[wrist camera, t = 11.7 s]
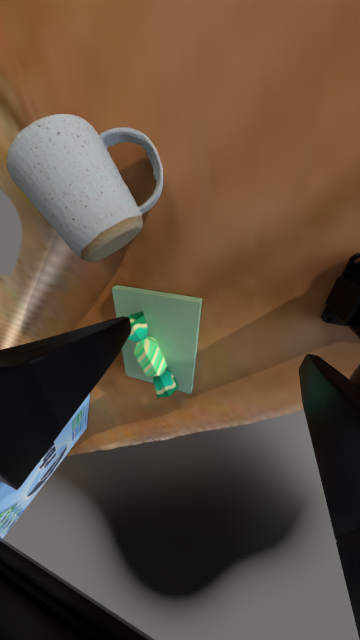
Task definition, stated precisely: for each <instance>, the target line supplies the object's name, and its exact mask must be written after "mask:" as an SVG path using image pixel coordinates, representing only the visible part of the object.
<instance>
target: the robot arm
mask: <svg viewBox="0 0 360 640" xmlns="http://www.w3.org/2000/svg"><path fill="white" fill-rule="evenodd" d="M359 257H360V253H357V254H355V255H353V256H352V257H351V258H350V260H349V262H348V264H347V266H346V268H345V270H344V272H343V274H342V276H341V277H339V278H338V279H337V280H336V282H335V284H334V286H333V288H332V290H331V292H330V294H329V296H328V299H327V301H326V305H327V306H326V308H325V310H324V312H323V314H322V316H321V318H322V320H323V321H324V322H326V323H331V324H338V325H344V326H348V327H349V328H350V329H351V330H352V331H353V332H354V333H355V334H356V335H357V336H358V338H359V339H360V261H359V262H357V263H356V262H355V261H356V259H357V258H359ZM327 316H330V318H328V319H326V317H327ZM130 334H131V322H130V318H129V317H124V316H121V317H118V318H114V319H111V320H108V321H104V322H101V323H97V324H94V325H90V326H87V327H84V328H80V329H77V330H73V331H70V332H67V333H63V334H60V335H56V336H53V337H49V338H46V339H42V340H39V341H35V342H31V343H27V344H23V345H19V346H15V347H11V348H6V349H2V350H0V481H1V482H3V483H5V484H7V485H8V486H10V487H12V488H14V489H16V490H18V489H19V488H20V487H21V486H22V484H23V483H24V482H25V480H26V479H27V478H28V476H29V475H30V474H31V472H32V471H33V470H34V468H35V467H36V466H37V464H38V463H39V462H40V460H41V459H42V457H43V456H44V455H45V453H46V452H47V451H48V449H49V448H50V447H51V445H52V444H53V443H54V441H55V440H56V438H57V437H58V436H59V434H60V433H61V432H62V430H63V428H64V427H65V426H66V425H67V423H68V422H69V421H70V419H71V418H72V417H73V415H74V414H75V413H76V411H77V410H78V409H79V407H80V406H81V404H82V403H83V402H84V400H85V399H86V398H87V396H88V395H89V394H90V392H91V391H92V390H93V388H94V387H95V385H96V384H97V383H98V381H99V380H100V379H101V377H102V376H103V375H104V373H105V372H106V371H107V369H108V368H109V367H110V365H111V364H112V362H113V361H114V360H115V358H116V357H117V356H118V354H119V353H120V351H121V349H122V348H123V346H124V344H125V342H126V341H127V339H128V337H129V336H130ZM299 376H300V385H301V395H302V402H303V407H304V411H305V415H306V419H307V423H308V428H309V432H310V435H311V440H312V444H313V448H314V452H315V457H316V460H317V465H318V469H319V473H320V477H321V481H322V485H323V489H324V494H325V497H326V502H327V506H328V510H329V514H330V518H331V522H332V527H333V531H334V535H335V539H336V541H337V542H336V544H337V548H338V552H339V556H340V560H341V564H342V569H343V573H344V577H345V581H346V585H347V589H348V593H349V597H350V601H351V606H352V610H353V614H354V618H355V622H356V626H357V630H358V634H359V638H360V365H359V366H358V367H357V369H356V370H355V371H354V373H353V374H352V375H351V377H350V379H348V378H346V377H345V376H344V375H342V374H341V373H340V372H339V371H337V370H336V369H335V368H333V367H332V366H331V365H329V364H328V363H327V362H325V361H324V360H323V359H322V358H320V357H319V356H316V355H311V354H307V355H306V356H305V358H304V360H303V362H302V364H301V366H300V368H299ZM0 640H154V639H153V638H151V637H150V636H148V635H147V634H145V633H144V632H142V631H141V630H139V629H137V628H136V627H134V626H133V625H132V624H130V623H129V622H127V621H126V620H124V619H122V618H121V617H119V616H118V615H116V614H115V613H113V612H112V611H110V610H109V609H107V608H106V607H104V606H103V605H101V604H100V603H98V602H97V601H95V600H94V599H92V598H91V597H89V596H88V595H86V594H85V593H83V592H82V591H80V590H79V589H77V588H76V587H74V586H73V585H71V584H70V583H68V582H67V581H65V580H63V579H62V578H60V577H59V576H57V575H56V574H54V573H53V572H51V571H50V570H48V569H47V568H45V567H44V566H42V565H41V564H39V563H38V562H36V561H35V560H33V559H32V558H30V557H29V556H27V555H26V554H24V553H23V552H21V551H20V550H18V549H16V548H15V547H14V546H12V545H11V544H9V543H8V542H6V541H4V540H3V539H1V538H0Z"/></svg>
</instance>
